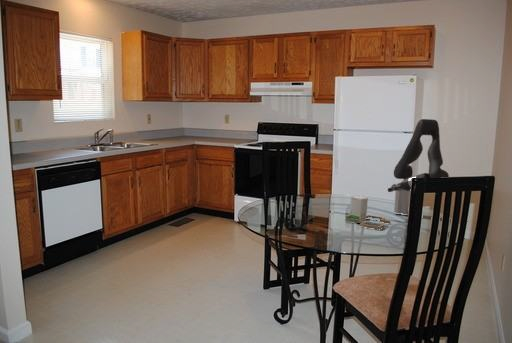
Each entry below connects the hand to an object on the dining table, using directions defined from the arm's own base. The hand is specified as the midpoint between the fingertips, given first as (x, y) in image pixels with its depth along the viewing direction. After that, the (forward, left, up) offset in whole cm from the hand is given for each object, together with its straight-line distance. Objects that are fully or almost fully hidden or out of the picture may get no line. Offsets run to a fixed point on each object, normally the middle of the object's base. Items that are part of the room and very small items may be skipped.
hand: (388, 190), depth 249 cm
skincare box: (+8, -15, -21) cm, 27 cm away
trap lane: (+7, -8, -20) cm, 23 cm away
